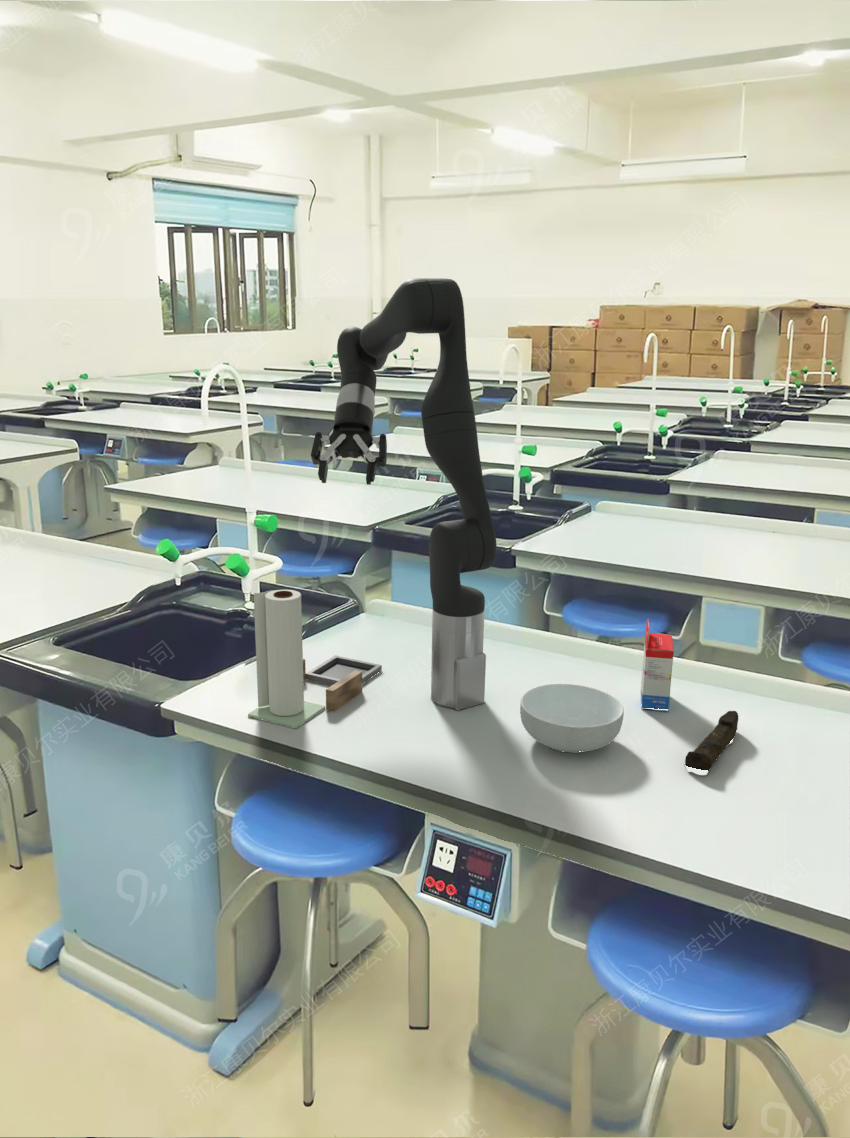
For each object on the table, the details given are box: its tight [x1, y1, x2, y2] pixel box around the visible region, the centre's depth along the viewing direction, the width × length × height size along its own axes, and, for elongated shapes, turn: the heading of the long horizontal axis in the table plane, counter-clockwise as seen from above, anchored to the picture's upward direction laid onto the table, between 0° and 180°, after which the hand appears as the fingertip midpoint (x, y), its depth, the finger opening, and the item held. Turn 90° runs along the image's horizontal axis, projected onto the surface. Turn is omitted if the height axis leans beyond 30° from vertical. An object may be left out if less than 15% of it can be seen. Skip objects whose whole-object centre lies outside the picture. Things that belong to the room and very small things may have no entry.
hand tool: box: [684, 710, 739, 772], centre depth 149 cm, size 19×4×5 cm, turn 142°
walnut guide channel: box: [303, 658, 363, 713], centre depth 169 cm, size 10×14×4 cm
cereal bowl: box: [519, 683, 625, 753], centre depth 152 cm, size 17×17×7 cm
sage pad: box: [247, 700, 326, 729], centre depth 162 cm, size 9×10×1 cm
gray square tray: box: [305, 655, 383, 686], centre depth 178 cm, size 11×11×1 cm
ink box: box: [640, 618, 675, 710], centre depth 166 cm, size 8×5×15 cm, turn 168°
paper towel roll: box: [253, 589, 305, 716], centre depth 159 cm, size 7×6×21 cm
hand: (345, 481), depth 173 cm, fingers open, 8 cm apart
